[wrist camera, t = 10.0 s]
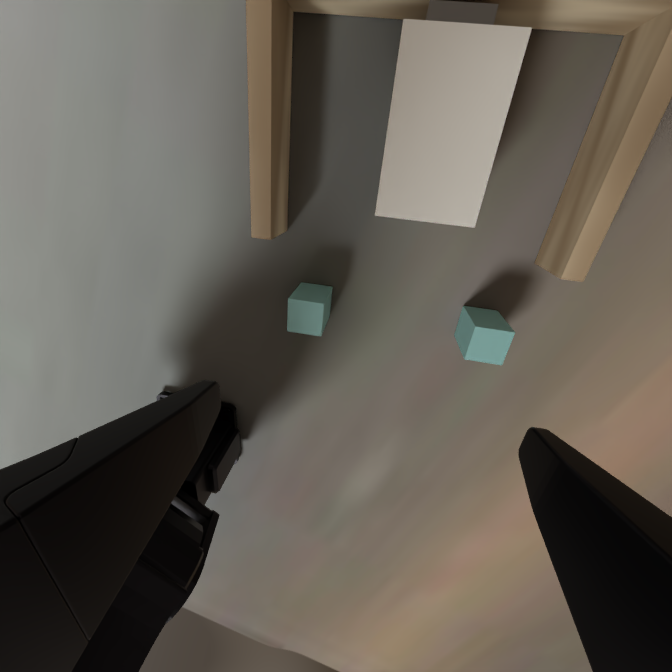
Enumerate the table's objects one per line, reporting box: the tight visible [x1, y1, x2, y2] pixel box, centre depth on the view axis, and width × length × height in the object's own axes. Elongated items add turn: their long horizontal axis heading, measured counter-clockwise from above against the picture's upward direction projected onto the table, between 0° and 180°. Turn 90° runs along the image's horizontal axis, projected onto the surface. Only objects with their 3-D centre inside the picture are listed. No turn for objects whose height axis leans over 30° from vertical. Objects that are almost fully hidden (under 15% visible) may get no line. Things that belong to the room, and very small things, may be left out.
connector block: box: [375, 0, 532, 228], centre depth 13 cm, size 4×7×5 cm, turn 175°
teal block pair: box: [287, 282, 515, 365], centre depth 19 cm, size 12×2×3 cm, turn 84°
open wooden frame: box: [246, 0, 672, 282], centre depth 14 cm, size 16×10×3 cm, turn 84°
